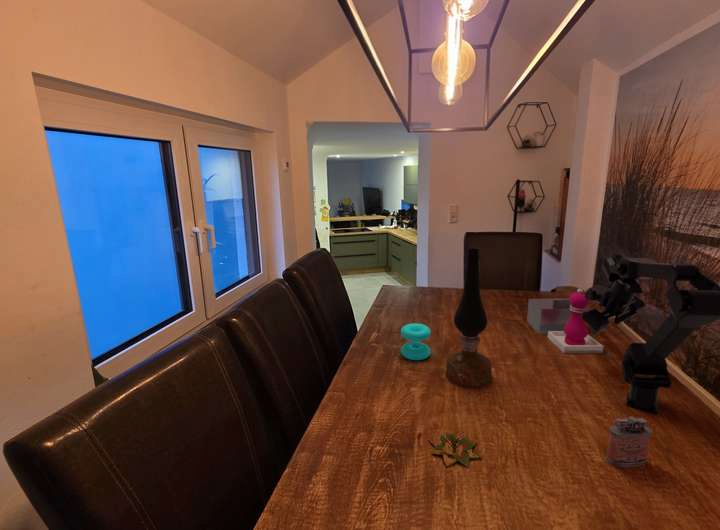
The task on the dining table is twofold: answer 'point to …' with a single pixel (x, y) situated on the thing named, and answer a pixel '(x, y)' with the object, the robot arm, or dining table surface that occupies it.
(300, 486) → the dining table surface
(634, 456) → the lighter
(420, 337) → the turquoise spool
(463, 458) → the green leafy cluster
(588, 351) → the tray
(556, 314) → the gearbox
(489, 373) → the oil lamp
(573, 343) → the pepper mill
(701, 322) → the robot arm
